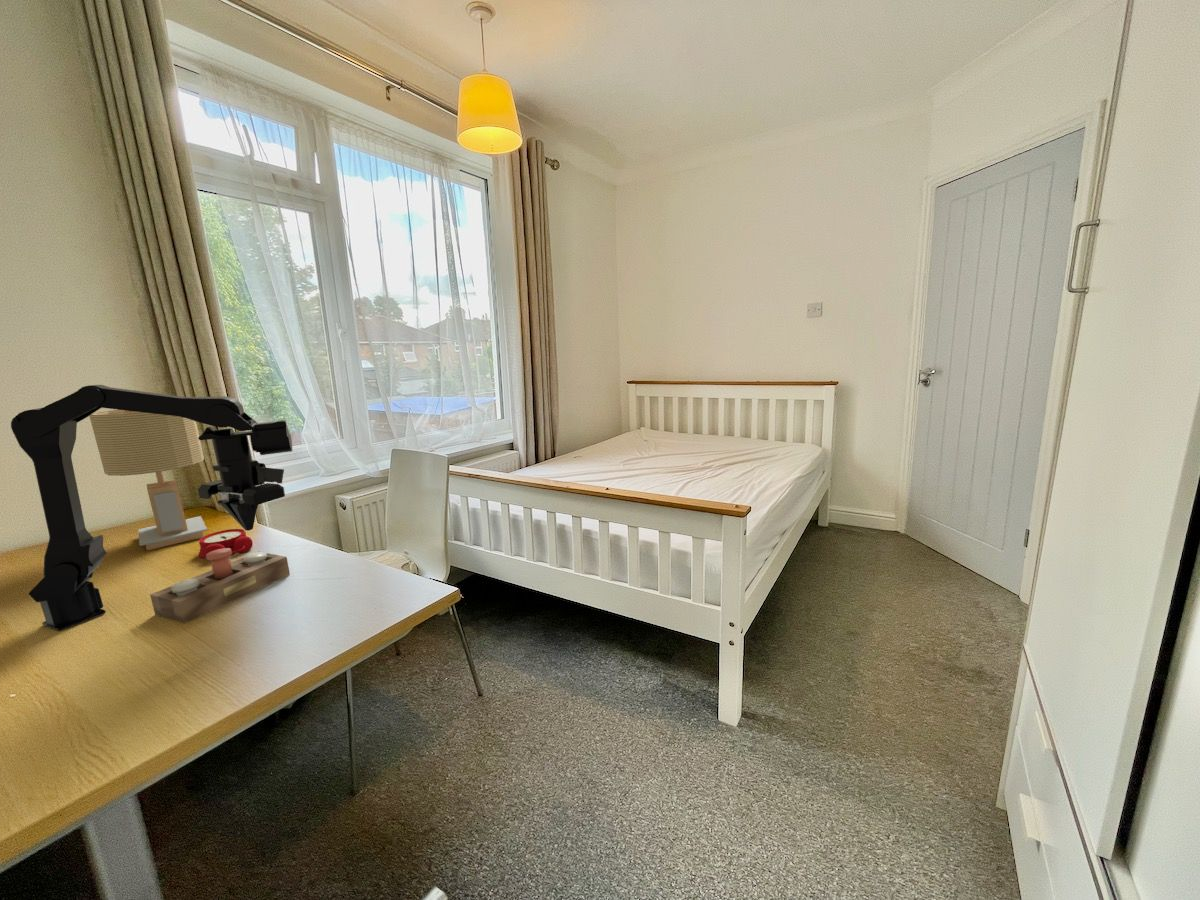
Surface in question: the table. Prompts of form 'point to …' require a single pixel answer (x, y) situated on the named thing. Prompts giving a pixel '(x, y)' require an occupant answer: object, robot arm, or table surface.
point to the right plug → (255, 558)
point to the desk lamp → (152, 465)
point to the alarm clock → (225, 542)
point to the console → (219, 589)
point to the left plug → (185, 587)
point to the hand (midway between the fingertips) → (249, 529)
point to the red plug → (220, 562)
